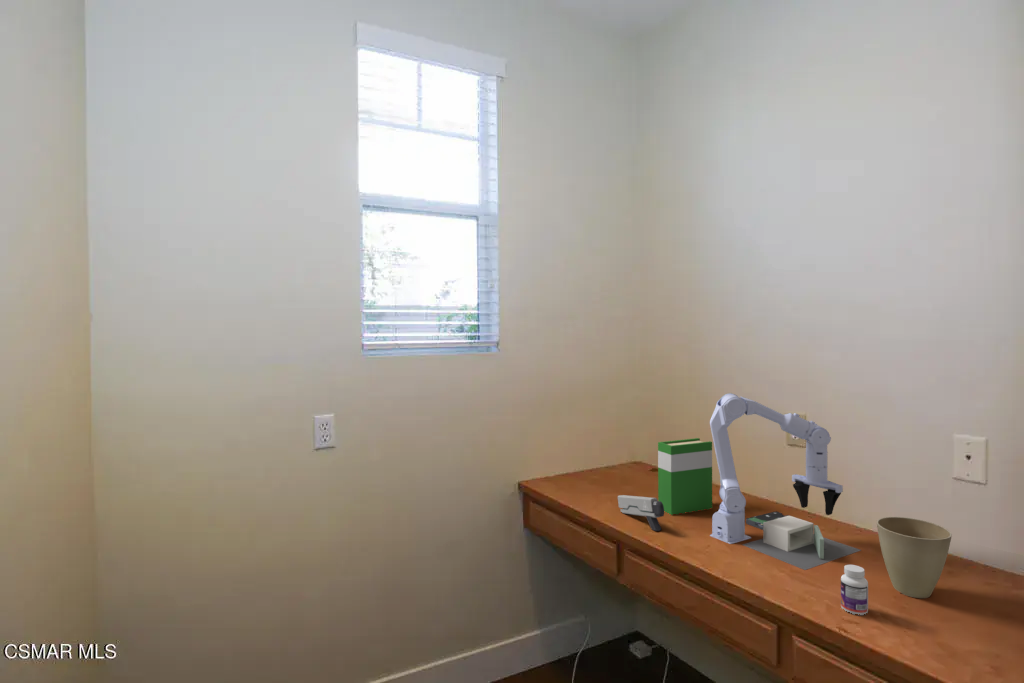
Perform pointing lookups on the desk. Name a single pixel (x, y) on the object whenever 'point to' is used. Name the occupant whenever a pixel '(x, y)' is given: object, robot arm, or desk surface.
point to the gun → (643, 508)
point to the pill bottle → (854, 590)
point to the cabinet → (788, 533)
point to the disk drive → (763, 519)
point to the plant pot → (913, 553)
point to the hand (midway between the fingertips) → (816, 510)
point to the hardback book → (685, 475)
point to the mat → (804, 553)
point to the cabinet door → (819, 542)
